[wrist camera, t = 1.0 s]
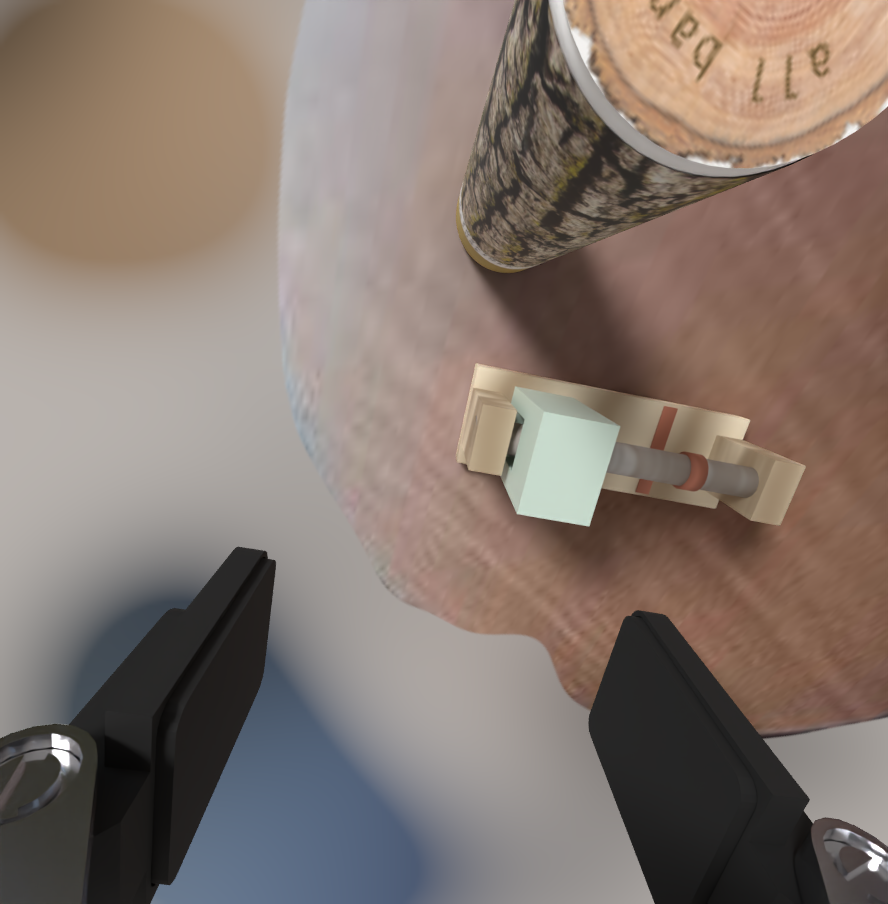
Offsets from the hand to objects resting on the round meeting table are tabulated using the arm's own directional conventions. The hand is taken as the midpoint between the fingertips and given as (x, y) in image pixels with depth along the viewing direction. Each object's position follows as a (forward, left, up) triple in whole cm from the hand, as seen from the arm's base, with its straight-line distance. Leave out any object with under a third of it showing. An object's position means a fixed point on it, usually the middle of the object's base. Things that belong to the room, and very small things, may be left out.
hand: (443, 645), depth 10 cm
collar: (-7, 0, -23) cm, 24 cm away
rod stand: (-12, 0, -26) cm, 29 cm away
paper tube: (-2, -13, -26) cm, 29 cm away
